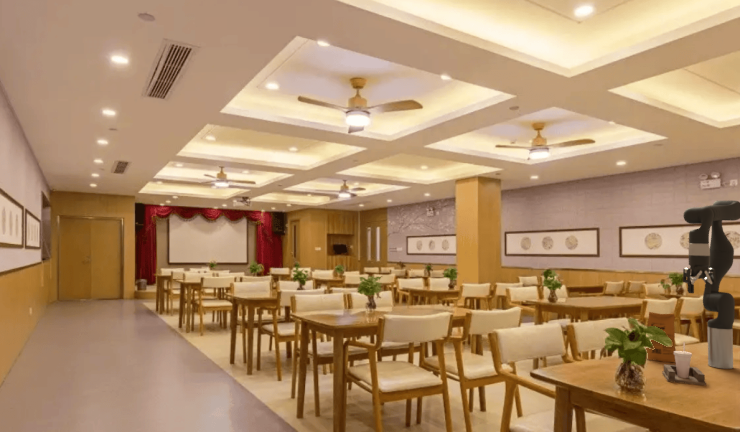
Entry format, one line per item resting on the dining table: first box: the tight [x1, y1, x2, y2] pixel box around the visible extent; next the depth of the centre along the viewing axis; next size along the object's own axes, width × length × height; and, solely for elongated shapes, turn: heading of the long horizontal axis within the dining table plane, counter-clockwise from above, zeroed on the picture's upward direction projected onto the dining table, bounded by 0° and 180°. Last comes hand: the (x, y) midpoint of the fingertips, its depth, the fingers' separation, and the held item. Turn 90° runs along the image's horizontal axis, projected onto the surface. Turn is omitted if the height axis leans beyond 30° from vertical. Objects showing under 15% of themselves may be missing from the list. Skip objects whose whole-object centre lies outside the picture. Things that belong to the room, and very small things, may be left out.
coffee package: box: [645, 311, 677, 363], centre depth 237 cm, size 10×12×22 cm
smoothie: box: [674, 341, 693, 378], centre depth 203 cm, size 6×6×14 cm
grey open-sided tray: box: [661, 364, 707, 386], centre depth 203 cm, size 13×13×4 cm
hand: (699, 293), depth 211 cm, fingers open, 8 cm apart
